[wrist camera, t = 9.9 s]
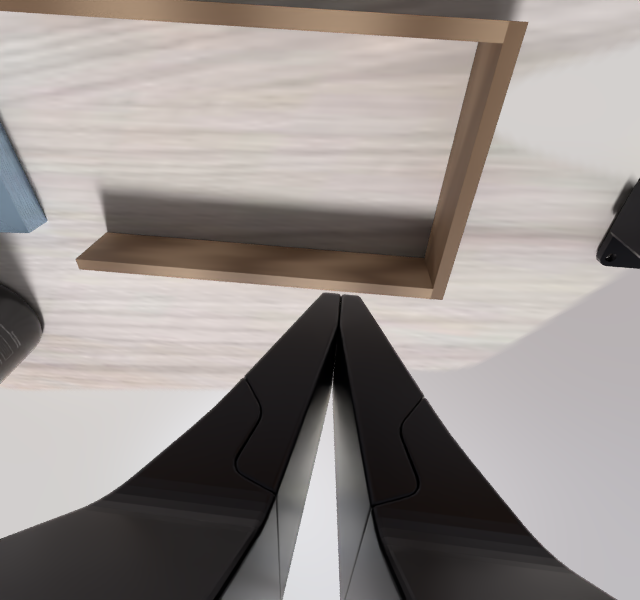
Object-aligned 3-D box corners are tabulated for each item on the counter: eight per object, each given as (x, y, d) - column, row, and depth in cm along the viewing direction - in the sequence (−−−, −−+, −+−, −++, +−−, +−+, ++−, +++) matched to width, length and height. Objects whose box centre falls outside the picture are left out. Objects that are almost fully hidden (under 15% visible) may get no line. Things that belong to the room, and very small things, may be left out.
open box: (499, 21, 14) (528, 21, 12) (432, 268, 21) (442, 299, 19) (29, -9, 15) (-33, -14, 13) (109, 241, 22) (79, 269, 19)
